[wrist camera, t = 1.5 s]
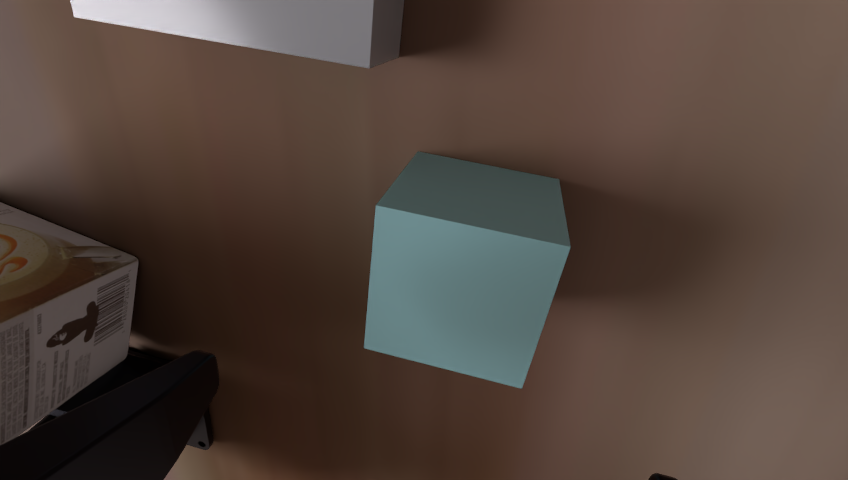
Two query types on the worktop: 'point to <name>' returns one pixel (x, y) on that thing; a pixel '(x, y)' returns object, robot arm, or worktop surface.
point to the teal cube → (465, 266)
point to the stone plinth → (269, 24)
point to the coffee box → (57, 315)
